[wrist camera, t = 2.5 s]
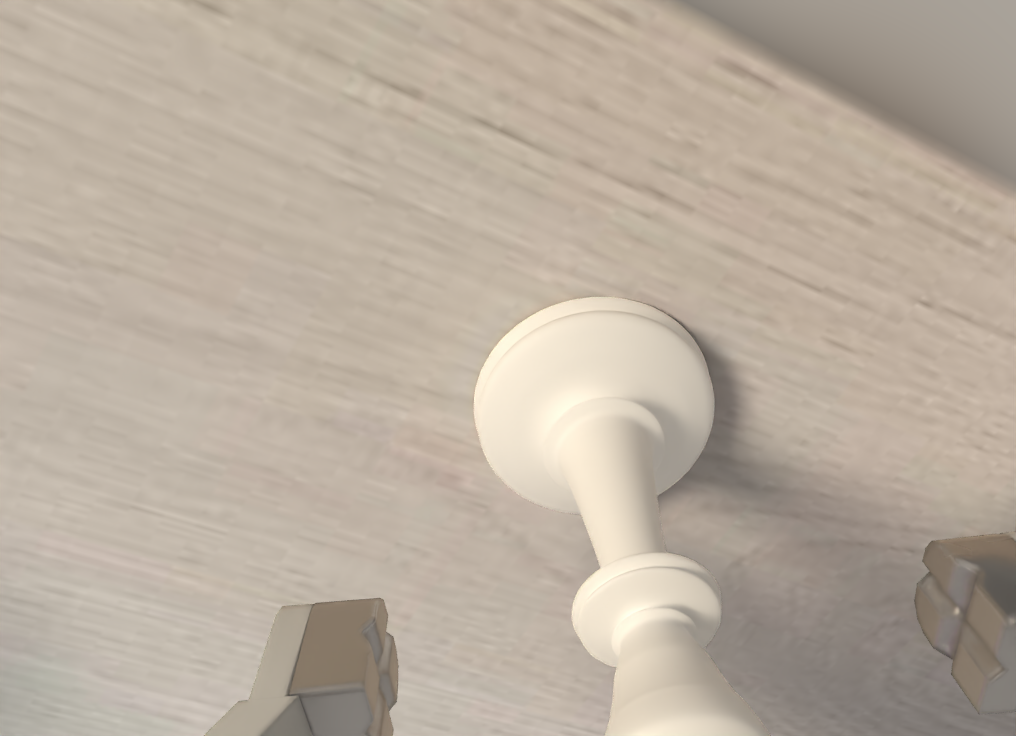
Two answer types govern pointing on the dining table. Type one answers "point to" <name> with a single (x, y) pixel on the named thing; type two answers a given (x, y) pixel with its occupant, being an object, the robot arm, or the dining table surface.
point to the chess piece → (618, 495)
